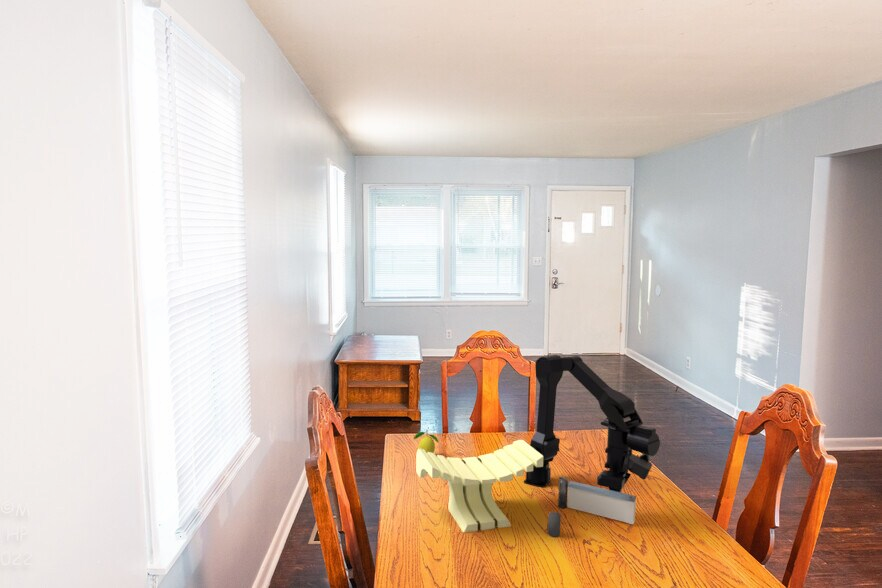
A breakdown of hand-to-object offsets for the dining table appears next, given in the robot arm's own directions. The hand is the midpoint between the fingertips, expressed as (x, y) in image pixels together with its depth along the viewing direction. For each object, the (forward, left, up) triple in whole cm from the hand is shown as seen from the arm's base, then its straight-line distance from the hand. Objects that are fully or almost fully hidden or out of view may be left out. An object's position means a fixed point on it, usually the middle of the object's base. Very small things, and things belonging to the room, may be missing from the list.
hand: (616, 500), depth 153 cm
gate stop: (-11, -19, -4) cm, 22 cm away
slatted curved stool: (-32, -20, -4) cm, 38 cm away
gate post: (-14, -3, -4) cm, 15 cm away
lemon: (-65, +7, -4) cm, 65 cm away
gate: (-3, -3, -4) cm, 6 cm away
